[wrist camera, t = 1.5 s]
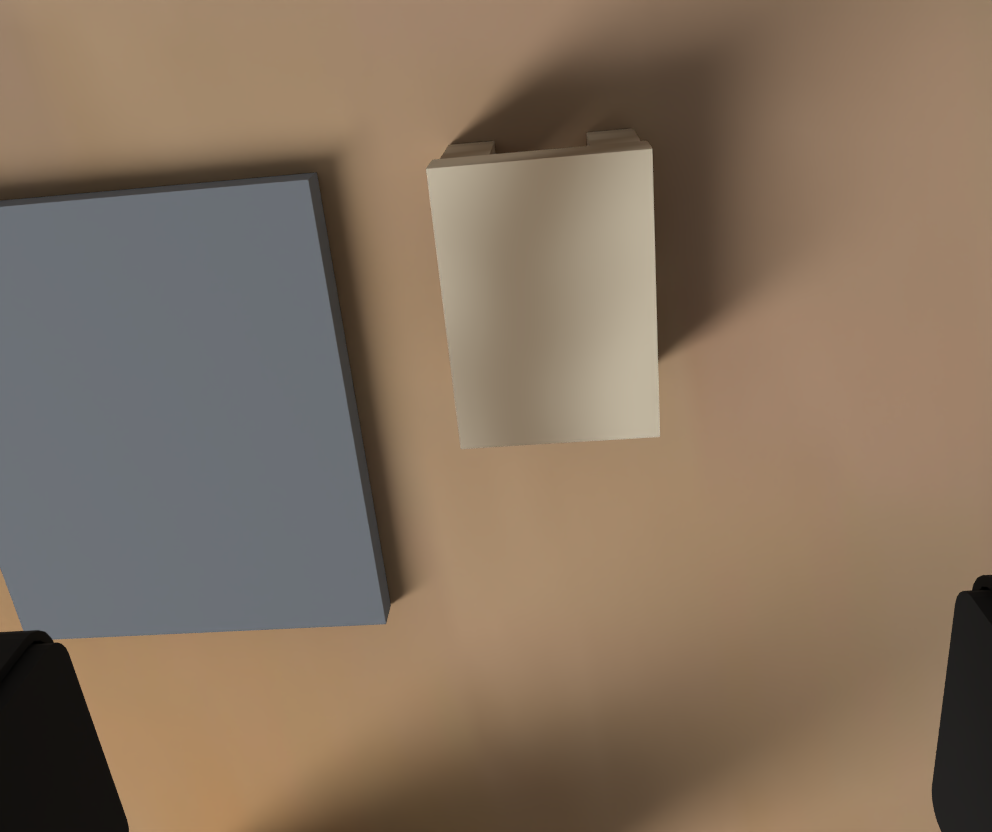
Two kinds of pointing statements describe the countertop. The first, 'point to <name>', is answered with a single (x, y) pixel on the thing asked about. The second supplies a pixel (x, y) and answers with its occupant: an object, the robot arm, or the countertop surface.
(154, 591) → the slate mat
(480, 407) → the beige tabbed block
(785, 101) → the countertop surface
